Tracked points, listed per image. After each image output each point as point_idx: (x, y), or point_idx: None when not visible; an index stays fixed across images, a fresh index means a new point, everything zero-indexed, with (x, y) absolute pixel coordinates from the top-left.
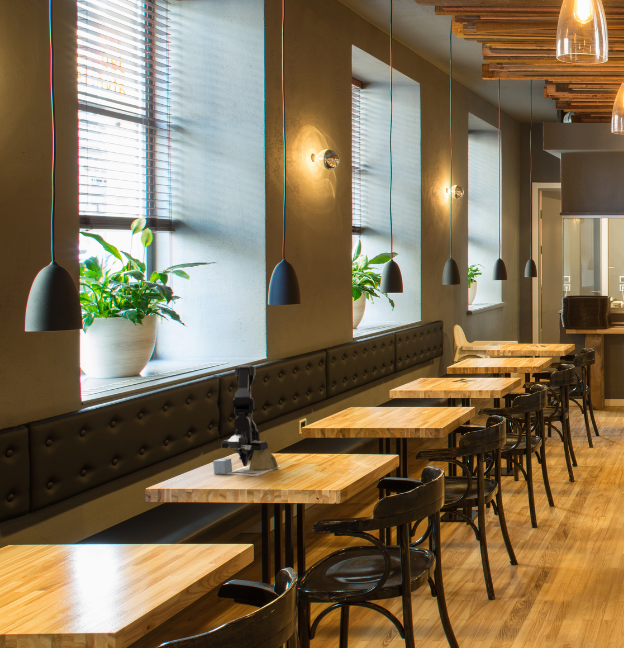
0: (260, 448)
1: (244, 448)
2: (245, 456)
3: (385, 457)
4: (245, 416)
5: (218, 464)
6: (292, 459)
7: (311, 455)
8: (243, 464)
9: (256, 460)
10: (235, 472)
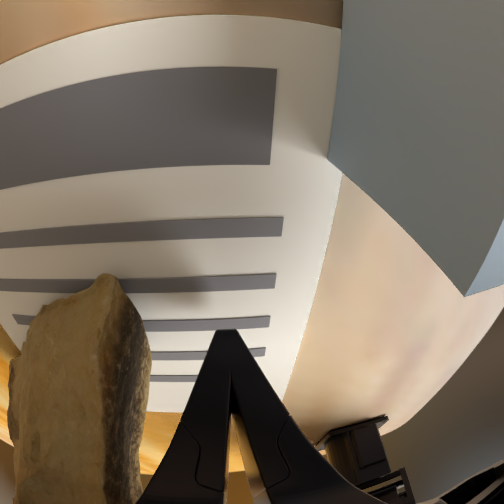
0: None
1: None
2: (180, 458)
3: (6, 440)
4: None
5: None
6: (161, 457)
7: (153, 470)
8: (237, 344)
9: (38, 396)
10: (224, 94)
